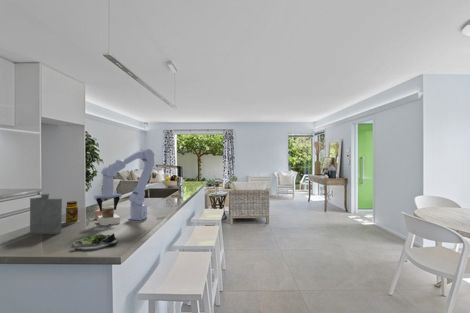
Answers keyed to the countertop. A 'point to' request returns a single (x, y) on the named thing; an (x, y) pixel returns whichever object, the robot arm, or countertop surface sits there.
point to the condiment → (71, 212)
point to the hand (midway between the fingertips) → (108, 210)
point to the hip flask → (45, 215)
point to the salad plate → (95, 242)
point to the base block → (109, 220)
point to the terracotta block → (98, 213)
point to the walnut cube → (107, 212)
